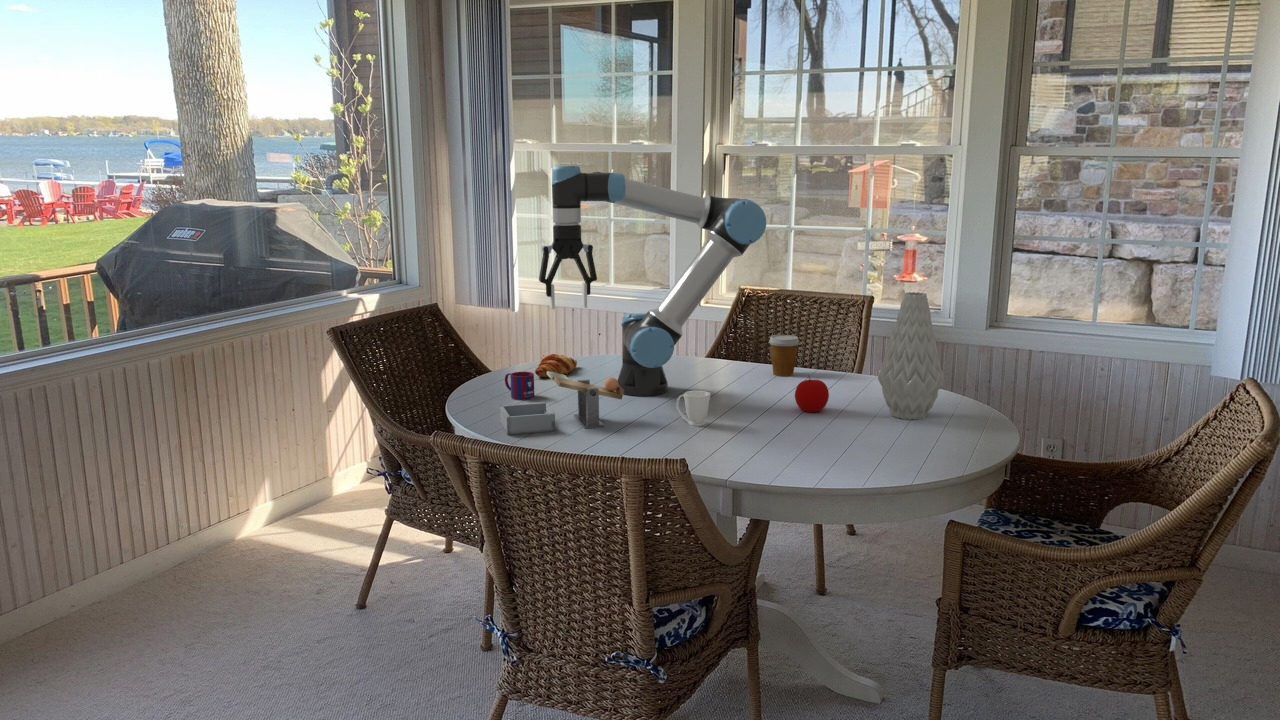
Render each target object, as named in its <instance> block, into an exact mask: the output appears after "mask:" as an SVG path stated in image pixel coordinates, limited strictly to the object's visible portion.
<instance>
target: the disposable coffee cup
mask: <svg viewBox="0 0 1280 720" xmlns="http://www.w3.org/2000/svg"><path fill="white" fill-rule="evenodd" d="M768 343H769V345H770V352H771V353H770V354H771V364H772V373H773V375H774V376H777V377H791V376H794V371H795V365H796V360H797V352H798V346H799V344H800V340H799V337H798V336H796V335H792V334H791V335H790V334H774V335H771V336H770V338H769V340H768Z"/></svg>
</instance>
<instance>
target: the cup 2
mask: <svg viewBox="0 0 1280 720" xmlns="http://www.w3.org/2000/svg"><path fill="white" fill-rule="evenodd" d="M711 394H712V393H711V392H709V391H706V390H689V391H685V392H684V393H683V394H680V395H679V396H678V397H677V399H676V401H675V402H676V403H675V407H676V411H677V413H678V415H679V416H680V417H681V418H682V419H683V421H686V422H687V423H688V425H690V426H691V427H692V426H693V427H695V426H696V427H701V426H705V425H706V419H707V415H708V412H709V407H710V406H709V405H710V400H711ZM682 397H683V399H684V404H685V405H684V407H685V412H686V416H687V417H686V416H685V415H684V414H683V413H682V410H680V405H679V404H680V400H681V399H682Z"/></svg>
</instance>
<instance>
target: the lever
mask: <svg viewBox="0 0 1280 720" xmlns="http://www.w3.org/2000/svg"><path fill="white" fill-rule="evenodd" d="M547 375H548V376H549V377H548V378H550V379H551V380H553V382H555V383H556V385H557V386H558V387H561V388H565V389H569V390H575V391H578V390H579V391H583V392H586V388H599V396H603V397H608V398H612V399H616V400H623V397H624V394H623V393H624V389H622V388H621V387H620V386H619V385H618V388H617V389H616V390H615V391H608V390H607V389H606V388H605V386H599V385H594V384H591V383H590V384H586V383H581V382H578V380H577V381H576V380H571V379H570V378H569V377H567V374H566V375H563V374H559V373H554V372H549V371H547Z"/></svg>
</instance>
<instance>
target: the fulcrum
mask: <svg viewBox="0 0 1280 720" xmlns="http://www.w3.org/2000/svg"><path fill="white" fill-rule="evenodd" d="M577 382H581V383H586V384H591V383H590V382H591V381H590V379H578V380H577ZM599 396H600V395H599V388H586V392H583V391H579V390H577V413H576V414H573V418H574V419H575V420H576V421H577V422H578V423H579V424H580V425H581V427H582V428H583V429H593V428H594V429H595V428H605V427H604V426H605V425H604V424H603V423H602V422H601V420H600V397H599Z"/></svg>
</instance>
